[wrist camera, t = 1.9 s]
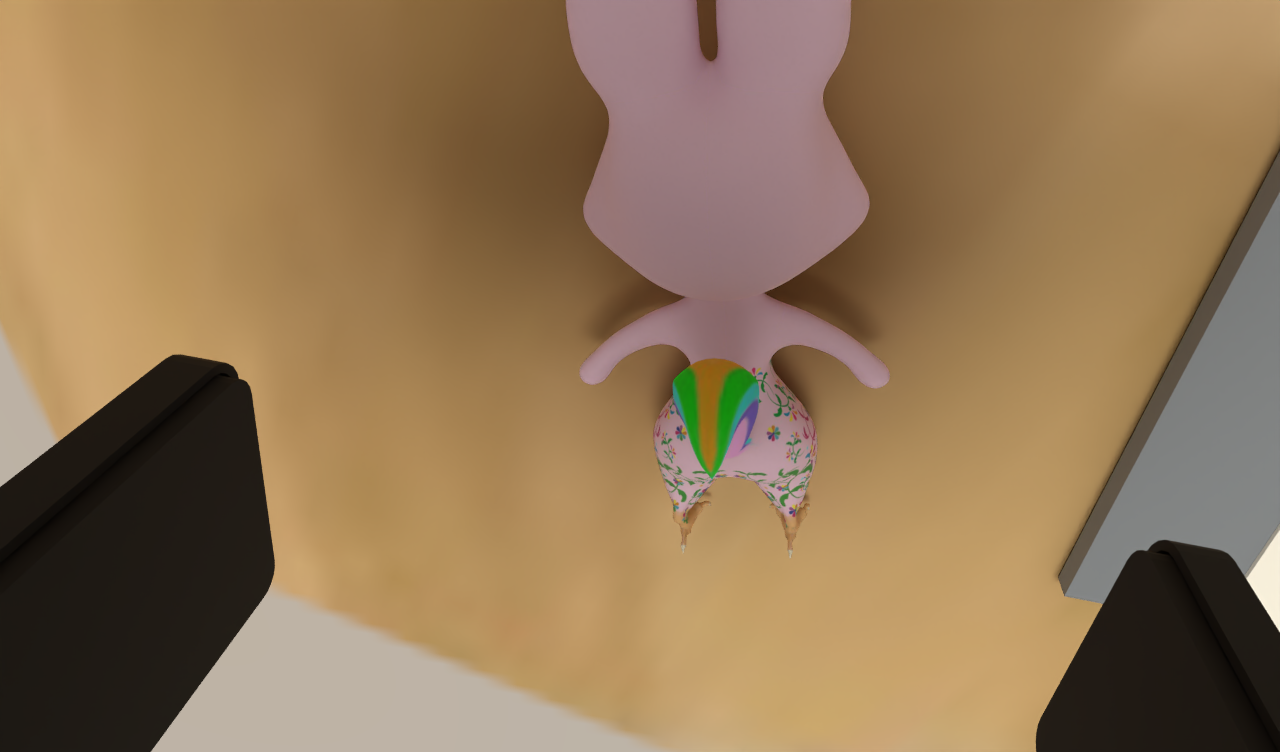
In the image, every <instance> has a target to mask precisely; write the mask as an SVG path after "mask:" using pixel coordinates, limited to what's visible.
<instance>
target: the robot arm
mask: <svg viewBox="0 0 1280 752" xmlns="http://www.w3.org/2000/svg"><path fill="white" fill-rule="evenodd" d="M274 569H275V560H274V553H273V546H272V538H271V531H270V524H269V516H268V509H267V502H266V494H265V487H264V480H263V473H262V465H261V458H260V451H259V443H258V436H257V429H256V421H255V414H254V407H253V400H252V393H251V389H250V386H249V385H248V383H247V382H246V381H244V380H241V379H239V377H238V374H237V372H236V370H235V369H234V367H233V366H231V365H229V364H228V363H223V362H218V361H213V360H207V359H202V358H197V357H191V356H186V355H181V354H180V355H172V356H170V357H168V358H166V359H165V360H163V361H162V362H161V363H159V364H158V365H157V366H156V367H154V368H153V369H152V370H150V371H149V372H148V373H147V374H145V375H144V376H143V377H141V378H140V379H139V380H138V381H136V382H135V383H134V384H132V385H131V386H130V387H129V388H127V389H126V390H125V391H123V392H122V393H121V394H120V395H118V396H117V397H116V398H114V399H113V400H112V401H111V402H109V403H108V404H107V405H105V406H104V407H103V408H102V409H100V410H99V411H98V412H96V413H95V414H94V415H92V416H91V417H90V418H89V419H87V420H86V421H85V422H83V423H82V424H81V425H80V426H78V427H77V428H76V429H74V430H73V431H72V432H71V433H69V434H68V435H67V436H65V437H64V438H63V439H62V440H60V441H59V442H58V443H56V444H55V445H54V446H53V447H51V448H50V449H49V450H48V451H46V452H45V453H44V454H42V455H41V456H40V457H39V458H37V459H36V460H35V461H33V462H32V463H31V464H30V465H28V466H27V467H26V468H24V469H23V470H22V471H20V472H19V473H18V474H17V475H15V476H14V477H13V478H11V479H10V480H9V481H8V482H7V483H5V484H4V485H2V486H1V487H0V752H151V751H152V749H153V748H154V747H155V745H156V744H157V742H158V741H159V740H160V738H161V737H162V736H163V734H164V733H165V732H166V730H167V729H168V727H169V726H170V725H171V723H172V722H173V721H174V719H175V718H176V717H177V715H178V714H179V712H180V711H181V710H182V708H183V707H184V706H185V704H186V703H187V701H188V700H189V699H190V697H191V696H192V695H193V693H194V692H195V690H196V689H197V688H198V686H199V685H200V684H201V682H202V681H203V679H204V678H205V677H206V675H207V674H208V673H209V671H210V670H211V669H212V667H213V666H214V665H215V663H216V662H217V661H218V659H219V658H220V656H221V655H222V654H223V652H224V651H225V649H226V648H227V647H228V646H229V644H230V642H231V641H232V640H233V639H234V637H235V636H236V635H237V633H238V632H239V631H240V629H241V628H242V626H243V625H244V624H245V622H246V621H247V620H248V618H249V617H250V615H251V614H252V613H253V611H254V610H255V609H256V607H257V606H258V605H259V603H260V602H261V600H262V599H263V598H264V596H265V595H266V593H267V591H268V589H269V587H270V585H271V582H272V579H273V575H274ZM1036 752H1280V632H1279V630H1278V628H1277V627H1276V625H1275V624H1274V622H1273V621H1272V619H1271V617H1270V616H1269V614H1268V613H1267V611H1266V609H1265V608H1264V606H1263V605H1262V603H1261V601H1260V600H1259V598H1258V597H1257V595H1256V593H1255V592H1254V590H1253V589H1252V587H1251V586H1250V584H1249V582H1248V581H1247V579H1246V578H1245V576H1244V574H1243V573H1242V571H1241V570H1240V568H1239V566H1238V565H1237V563H1236V562H1235V560H1234V559H1233V558H1232V557H1231V556H1230V555H1229V554H1228V553H1226V552H1224V551H1222V550H1218V549H1212V548H1207V547H1202V546H1197V545H1191V544H1186V543H1181V542H1175V541H1170V540H1158V541H1157V542H1155V543H1154V544H1152V545H1151V546H1150V548H1149V549H1148V550H1147V551H1145V550H1137V551H1135V552H1134V553H1132V554H1131V556H1130V557H1129V558H1128V560H1127V561H1126V563H1125V565H1124V567H1123V569H1122V571H1121V572H1120V574H1119V576H1118V578H1117V580H1116V582H1115V583H1114V585H1113V587H1112V589H1111V591H1110V592H1109V594H1108V596H1107V598H1106V600H1105V602H1104V603H1103V605H1102V607H1101V609H1100V611H1099V613H1098V614H1097V616H1096V618H1095V620H1094V622H1093V624H1092V625H1091V627H1090V629H1089V631H1088V633H1087V635H1086V636H1085V638H1084V640H1083V642H1082V644H1081V645H1080V647H1079V649H1078V651H1077V653H1076V655H1075V656H1074V658H1073V660H1072V662H1071V664H1070V666H1069V667H1068V669H1067V671H1066V673H1065V675H1064V677H1063V678H1062V680H1061V682H1060V684H1059V686H1058V687H1057V689H1056V691H1055V693H1054V695H1053V697H1052V698H1051V700H1050V702H1049V704H1048V706H1047V708H1046V709H1045V711H1044V713H1043V715H1042V717H1041V719H1040V721H1039V724H1038V728H1037V733H1036Z"/></svg>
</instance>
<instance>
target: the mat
mask: <svg viewBox="0 0 1280 752" xmlns="http://www.w3.org/2000/svg"><path fill="white" fill-rule="evenodd" d="M1158 540H1170V541H1175V542H1181V543H1186V544H1191V545H1197V546H1202V547H1207V548H1212V549H1218V550H1222V551H1224V552H1226V553H1228V554H1229V555H1230V556H1231V557H1232V558H1233V559H1234V560H1235V562H1236V563H1237V565H1238V566H1239V568H1240V570H1241V571H1242V573H1243V574H1244V576H1245V578H1246V579H1247V581H1248V582H1249V584H1250V586H1251V587H1252V589H1253V590H1254V592H1255V593H1256V595H1257V597H1258V598H1259V600H1260V601H1261V603H1262V605H1263V606H1264V608H1265V609H1266V611H1267V613H1268V614H1269V616H1270V617H1271V619H1272V621H1273V622H1274V624H1275V625H1276V627H1277V628H1278V630H1279V632H1280V151H1279V153H1278V155H1277V157H1276V159H1275V161H1274V163H1273V165H1272V167H1271V169H1270V171H1269V173H1268V175H1267V177H1266V178H1265V180H1264V182H1263V184H1262V186H1261V188H1260V190H1259V192H1258V194H1257V196H1256V198H1255V200H1254V202H1253V203H1252V205H1251V207H1250V209H1249V211H1248V213H1247V215H1246V217H1245V219H1244V221H1243V223H1242V225H1241V227H1240V229H1239V230H1238V232H1237V234H1236V236H1235V238H1234V240H1233V242H1232V244H1231V246H1230V248H1229V250H1228V252H1227V254H1226V256H1225V257H1224V259H1223V261H1222V263H1221V265H1220V267H1219V269H1218V271H1217V273H1216V275H1215V277H1214V279H1213V281H1212V282H1211V284H1210V286H1209V288H1208V290H1207V292H1206V294H1205V296H1204V298H1203V300H1202V302H1201V304H1200V306H1199V308H1198V309H1197V311H1196V313H1195V315H1194V317H1193V319H1192V321H1191V323H1190V325H1189V327H1188V329H1187V331H1186V333H1185V334H1184V336H1183V338H1182V340H1181V342H1180V344H1179V346H1178V348H1177V350H1176V352H1175V354H1174V356H1173V358H1172V360H1171V361H1170V363H1169V365H1168V367H1167V369H1166V371H1165V373H1164V375H1163V377H1162V379H1161V381H1160V383H1159V385H1158V387H1157V388H1156V390H1155V392H1154V394H1153V396H1152V398H1151V400H1150V402H1149V404H1148V406H1147V408H1146V410H1145V412H1144V413H1143V415H1142V417H1141V419H1140V421H1139V423H1138V425H1137V427H1136V429H1135V431H1134V433H1133V435H1132V437H1131V439H1130V440H1129V442H1128V444H1127V446H1126V448H1125V450H1124V452H1123V454H1122V456H1121V458H1120V460H1119V462H1118V464H1117V465H1116V467H1115V469H1114V471H1113V473H1112V475H1111V477H1110V479H1109V481H1108V483H1107V485H1106V487H1105V489H1104V491H1103V492H1102V494H1101V496H1100V498H1099V500H1098V502H1097V504H1096V506H1095V508H1094V510H1093V512H1092V514H1091V516H1090V518H1089V519H1088V521H1087V523H1086V525H1085V527H1084V529H1083V531H1082V533H1081V535H1080V537H1079V539H1078V541H1077V543H1076V544H1075V546H1074V548H1073V550H1072V552H1071V554H1070V556H1069V558H1068V560H1067V562H1066V564H1065V566H1064V568H1063V570H1062V571H1061V573H1060V575H1059V577H1058V578H1059V581H1060V584H1061V587H1062V590H1063V593H1064V596H1067V597H1072V598H1077V599H1082V600H1087V601H1092V602H1097V603H1102V604H1103V603H1104V602H1105V600H1106V598H1107V596H1108V594H1109V592H1110V591H1111V589H1112V587H1113V585H1114V583H1115V582H1116V580H1117V578H1118V576H1119V574H1120V572H1121V571H1122V569H1123V567H1124V565H1125V563H1126V561H1127V560H1128V558H1129V557H1130V556H1131V554H1132V553H1134V552H1135V551H1137V550H1145V551H1147V550H1148V549H1149V548H1150V546H1151V545H1152V544H1154V543H1155V542H1157V541H1158Z"/></svg>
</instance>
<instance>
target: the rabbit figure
mask: <svg viewBox="0 0 1280 752" xmlns="http://www.w3.org/2000/svg"><path fill="white" fill-rule="evenodd" d="M566 12H567V21H568V28H569V34H570V39H571V44H572V47H573V51H574V54H575V57H576V60H577V62H578V64H579V66H580V69H581V71H582V72H583V74H584V75H585V77H586V79H587V80H588V81H589V83H590V84H591V85H592V87H593V88H594V89H595V91H596V92H597V93H598V94H599V96H600V97H601V99H602V100H603V102H604V104H605V106H606V108H607V110H608V114H609V132H608V136H607V140H606V143H605V146H604V149H603V151H602V154H601V157H600V160H599V163H598V166H597V168H596V171H595V174H594V177H593V180H592V182H591V185H590V187H589V190H588V192H587V195H586V198H585V201H584V205H583V212H584V218H585V221H586V223H587V225H588V226H589V228H590V230H591V231H592V232H593V234H594V235H595V236H596V237H597V238H598V239H599V240H600V241H601V242H602V243H603V244H604V245H606V246H607V247H608V248H609V249H610V250H612V251H613V252H614V253H615V254H616V255H617V256H619V257H620V258H621V259H622V260H624V261H625V262H626V263H627V264H628V265H630V266H631V267H632V268H634V269H635V270H636V271H637V272H639V273H640V274H641V275H643V276H644V277H646V278H647V279H648V280H650V281H651V282H653V283H655V284H656V285H658V286H660V287H662V288H664V289H666V290H668V291H671V292H673V293H676V294H679V295H682V296H685V298H683V299H681V300H679V301H677V302H674V303H672V304H669V305H666V306H664V307H661V308H659V309H656V310H654V311H652V312H650V313H648V314H646V315H644V316H642V317H641V318H639V319H637V320H635V321H634V322H632V323H630V324H628V325H627V326H625V327H623V328H622V329H620V330H619V331H617V332H616V333H615V334H613V335H612V336H611V337H610V338H608V339H607V340H606V341H605V342H604V343H603V344H602V345H601V346H600V347H599V348H597V349H596V350H595V351H594V352H593V353H592V354H591V355H590V356H589V357H588V358H587V359H586V360H585V361H584V363H583V364H582V365H581V367H580V377H581V379H582V380H583V381H584V382H585V383H587V384H591V385H594V384H598V383H601V382H602V381H604V380H605V379H606V378H607V377H608V375H609V374H610V373H611V371H612V370H613V368H614V367H615V366H616V364H617V363H618V362H619V361H620V360H622V359H623V358H624V357H626V356H627V355H629V354H631V353H633V352H635V351H637V350H640V349H643V348H645V347H649V346H653V345H658V344H666V345H671V346H674V347H677V348H678V349H680V350H681V351H682V352H683V353H684V354H685V355H686V356H687V358H688V359H689V361H690V364H691V365H690V366H688V367H687V368H686V369H684V370H683V371H682V372H681V373H680V374H679V375H678V376H677V377H676V378H675V379H674V381H673V396H672V397H671V398H670V399H669V401H668V402H667V403H666V405H665V406H664V408H663V409H662V411H661V413H660V415H659V416H658V419H657V421H656V424H655V427H654V433H653V442H654V448H655V452H656V456H657V460H658V464H659V467H660V470H661V473H662V476H663V479H664V482H665V485H666V488H667V491H668V493H669V495H670V498H671V500H672V502H673V518H674V521H675V522H676V523H679V525H680V527H681V534H682V543H681V547H682V551H683V553H684V549H685V547H686V537H687V535H688V534H689V533H691V528H692V526H693V524H694V522H695V520H696V518H697V516H698V515H699V514H700V512H701V511H702V507H704V506H705V505H706V506H708V505H711V503H710V502H709V501H704V502H702V503H699V502H697V500H698V499H699V498H700V497H701V496H702V495H703V493H704V492H705V491H706V490H707V489H708V488H709V487H710V486H711V485H712V483H713V482H714V481H715V480H716V479H717V478H720V477H736V478H742V479H747V480H751V481H755V483H756V484H757V485H758V486H759V487H760V488H761V490H762V491H763V492H764V493H765V494H766V495H767V496H768V498H769V499H770V500H771V501H772V504H771V505H770V507H771V508H775V509H776V510H777V514H778V516H779V517H780V518H781V521H782V524H783V527H784V530H785V535H786V538H787V540H788V552H789V557H790V558H791V555H792V551H793V548H792V542H793V540H794V538H795V537H796V532H797V530H798V528H799V526H800V523H801V522H802V520H803V519H804V518H805V517H806V515H807V513H806V509H808V510H809V504H807V503H806V504H805V505H804V507H803V508H799V507H800V504H801V502H802V500H803V498H804V495H805V493H806V490H807V487H808V484H809V481H810V479H811V476H812V473H813V470H814V467H815V462H816V456H817V434H816V429H815V426H814V424H813V421H812V419H811V417H810V415H809V413H808V412H807V410H806V409H805V407H804V406H803V405H802V403H801V402H800V401H799V400H798V399H797V397H796V396H795V395H794V394H793V393H792V392H791V391H790V389H789V388H788V387H787V386H786V385H785V384H784V383H783V381H782V380H781V379H780V378H779V377H778V376H777V375H776V373H775V371H774V369H773V367H772V362H771V357H772V356H773V355H774V353H776V352H777V351H778V350H779V349H781V348H783V347H786V346H790V345H803V346H808V347H812V348H815V349H818V350H821V351H823V352H825V353H828V354H830V355H832V356H834V357H836V358H837V359H839V360H840V361H841V362H843V363H844V364H845V365H846V366H847V367H848V368H849V369H850V370H851V371H852V372H853V374H854V375H855V376H856V377H857V379H858V380H859V381H860V382H861V383H863V384H864V385H866V386H868V387H871V388H880V387H882V386H884V385H885V384H887V383H888V381H889V378H890V374H889V370H888V368H887V366H886V365H885V364H884V363H883V362H882V361H881V360H880V359H878V358H877V357H876V356H875V355H874V354H872V353H871V352H870V351H869V350H868V349H866V348H865V347H864V346H863V345H862V344H860V343H859V342H858V341H857V340H855V339H854V338H853V337H851V336H850V335H848V334H847V333H845V332H844V331H842V330H841V329H839V328H837V327H835V326H834V325H832V324H830V323H828V322H826V321H824V320H822V319H820V318H818V317H817V316H815V315H813V314H811V313H809V312H807V311H805V310H802V309H800V308H797V307H795V306H792V305H789V304H786V303H783V302H781V301H778V300H776V299H774V298H772V297H770V296H768V295H766V294H765V293H764V292H767V291H769V290H772V289H774V288H776V287H778V286H780V285H782V284H784V283H786V282H787V281H789V280H791V279H792V278H794V277H795V276H797V275H799V274H800V273H802V272H803V271H805V270H806V269H808V268H809V267H811V266H812V265H814V264H815V263H816V262H818V261H819V260H820V259H822V258H823V257H825V256H826V255H827V254H829V253H830V252H831V251H833V250H834V249H835V248H837V247H838V246H839V245H840V244H841V243H843V242H844V241H845V240H846V239H847V238H848V237H849V236H851V235H852V234H853V233H854V232H855V231H856V230H857V228H858V227H859V226H860V225H861V224H862V223H863V221H864V220H865V218H866V216H867V213H868V210H869V206H870V202H869V195H868V193H867V191H866V188H865V187H864V185H863V183H862V181H861V179H860V178H859V176H858V174H857V173H856V171H855V169H854V167H853V165H852V163H851V161H850V159H849V157H848V155H847V153H846V151H845V149H844V147H843V145H842V144H841V142H840V140H839V138H838V136H837V134H836V132H835V131H834V129H833V127H832V125H831V123H830V121H829V119H828V117H827V115H826V112H825V109H824V105H823V93H824V89H825V87H826V84H827V82H828V81H829V79H830V77H831V76H832V74H833V72H834V71H835V69H836V68H837V66H838V64H839V63H840V61H841V59H842V56H843V54H844V52H845V49H846V46H847V43H848V38H849V33H850V23H851V0H716V24H717V37H718V52H717V57H716V58H715V59H714V60H712V61H709V60H707V59H706V58H705V57H704V55H703V54H702V51H701V48H700V41H699V25H698V11H697V0H566ZM696 502H697V503H696Z"/></svg>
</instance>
